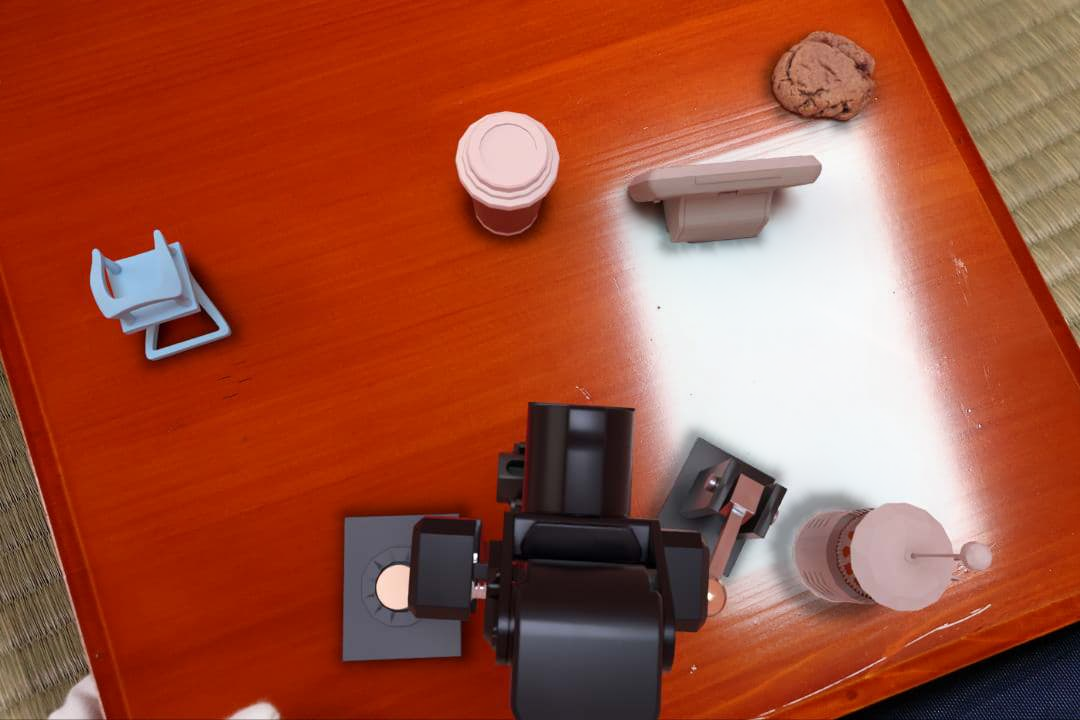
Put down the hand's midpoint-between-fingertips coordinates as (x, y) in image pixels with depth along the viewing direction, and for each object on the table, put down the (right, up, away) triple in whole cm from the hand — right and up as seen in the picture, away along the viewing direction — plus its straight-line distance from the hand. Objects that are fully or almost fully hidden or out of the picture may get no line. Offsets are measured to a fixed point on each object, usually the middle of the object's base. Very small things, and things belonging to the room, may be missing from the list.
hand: (551, 556), depth 63 cm
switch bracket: (+15, +1, +17) cm, 22 cm away
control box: (-13, -6, +14) cm, 20 cm away
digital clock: (+16, +30, +23) cm, 41 cm away
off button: (-13, -5, +10) cm, 17 cm away
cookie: (+28, +43, +27) cm, 58 cm away
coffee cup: (-4, +30, +22) cm, 37 cm away
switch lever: (+13, -1, +5) cm, 14 cm away
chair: (-35, +19, +18) cm, 44 cm away
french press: (+27, -4, +16) cm, 32 cm away
